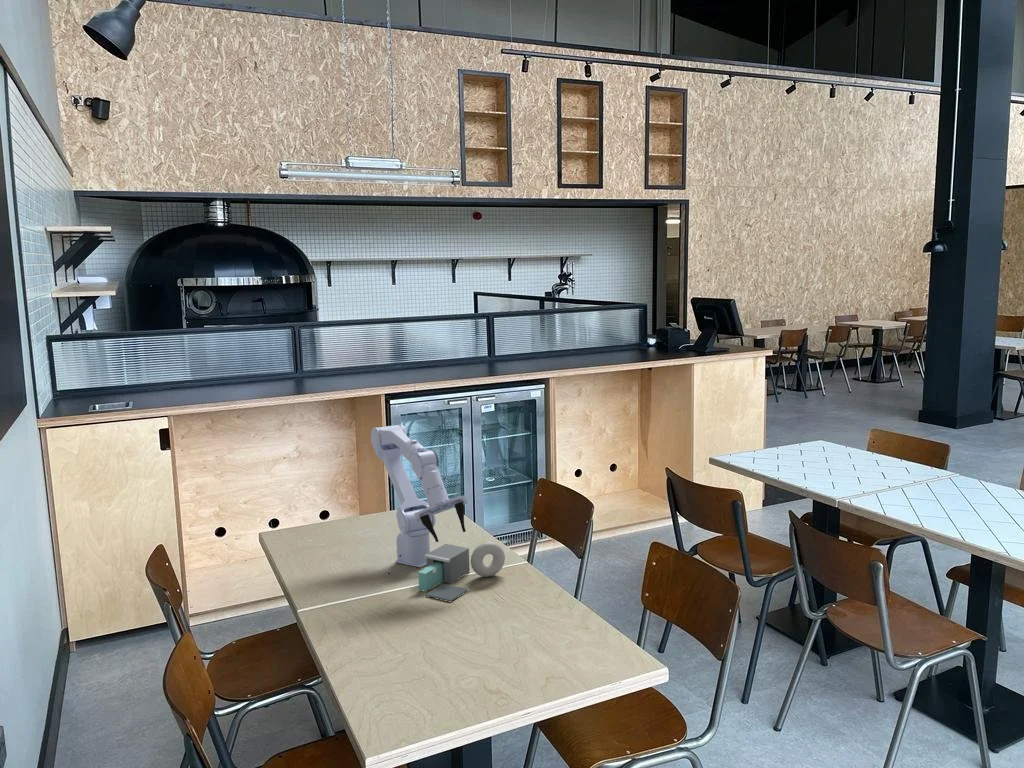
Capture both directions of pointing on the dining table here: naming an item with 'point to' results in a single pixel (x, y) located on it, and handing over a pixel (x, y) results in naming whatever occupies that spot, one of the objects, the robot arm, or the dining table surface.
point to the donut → (479, 555)
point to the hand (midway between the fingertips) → (450, 536)
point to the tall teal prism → (431, 575)
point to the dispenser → (450, 561)
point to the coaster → (446, 592)
